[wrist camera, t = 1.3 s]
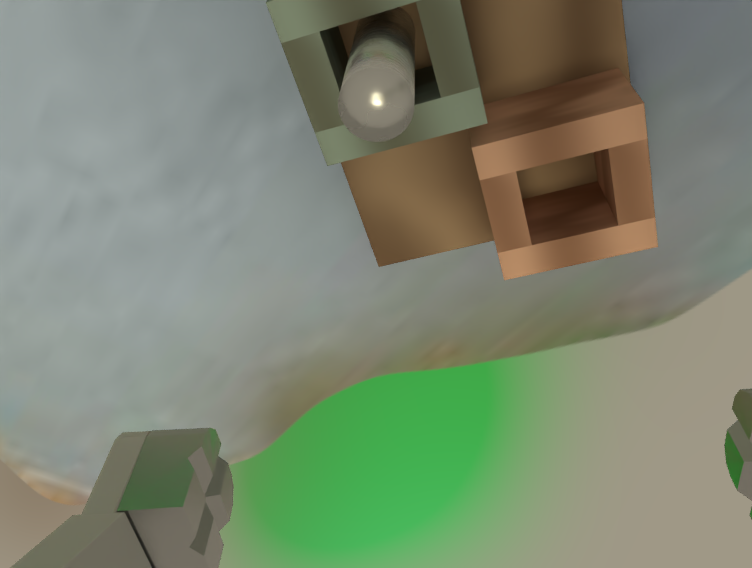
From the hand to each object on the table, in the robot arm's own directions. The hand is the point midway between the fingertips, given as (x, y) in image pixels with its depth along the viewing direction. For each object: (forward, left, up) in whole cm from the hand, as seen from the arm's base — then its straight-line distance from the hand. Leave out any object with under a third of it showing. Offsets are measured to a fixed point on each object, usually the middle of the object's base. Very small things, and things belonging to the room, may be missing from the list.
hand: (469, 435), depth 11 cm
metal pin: (+3, +1, -29) cm, 29 cm away
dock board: (-1, +5, -30) cm, 31 cm away
